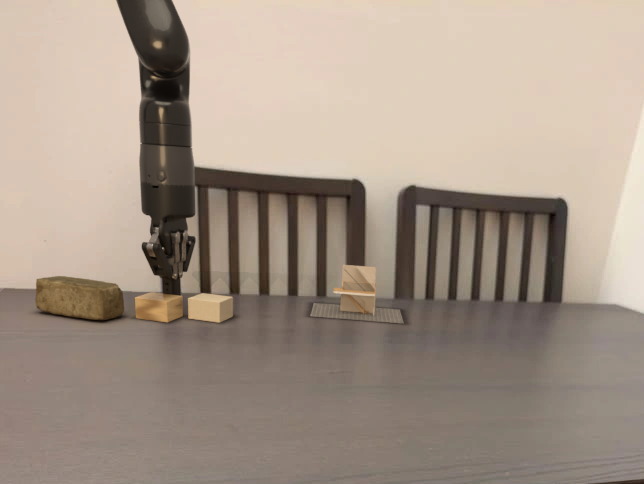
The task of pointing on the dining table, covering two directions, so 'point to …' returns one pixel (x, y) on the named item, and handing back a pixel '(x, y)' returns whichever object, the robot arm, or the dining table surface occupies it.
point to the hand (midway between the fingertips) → (172, 303)
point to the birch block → (159, 307)
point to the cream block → (210, 307)
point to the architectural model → (357, 298)
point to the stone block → (79, 297)
